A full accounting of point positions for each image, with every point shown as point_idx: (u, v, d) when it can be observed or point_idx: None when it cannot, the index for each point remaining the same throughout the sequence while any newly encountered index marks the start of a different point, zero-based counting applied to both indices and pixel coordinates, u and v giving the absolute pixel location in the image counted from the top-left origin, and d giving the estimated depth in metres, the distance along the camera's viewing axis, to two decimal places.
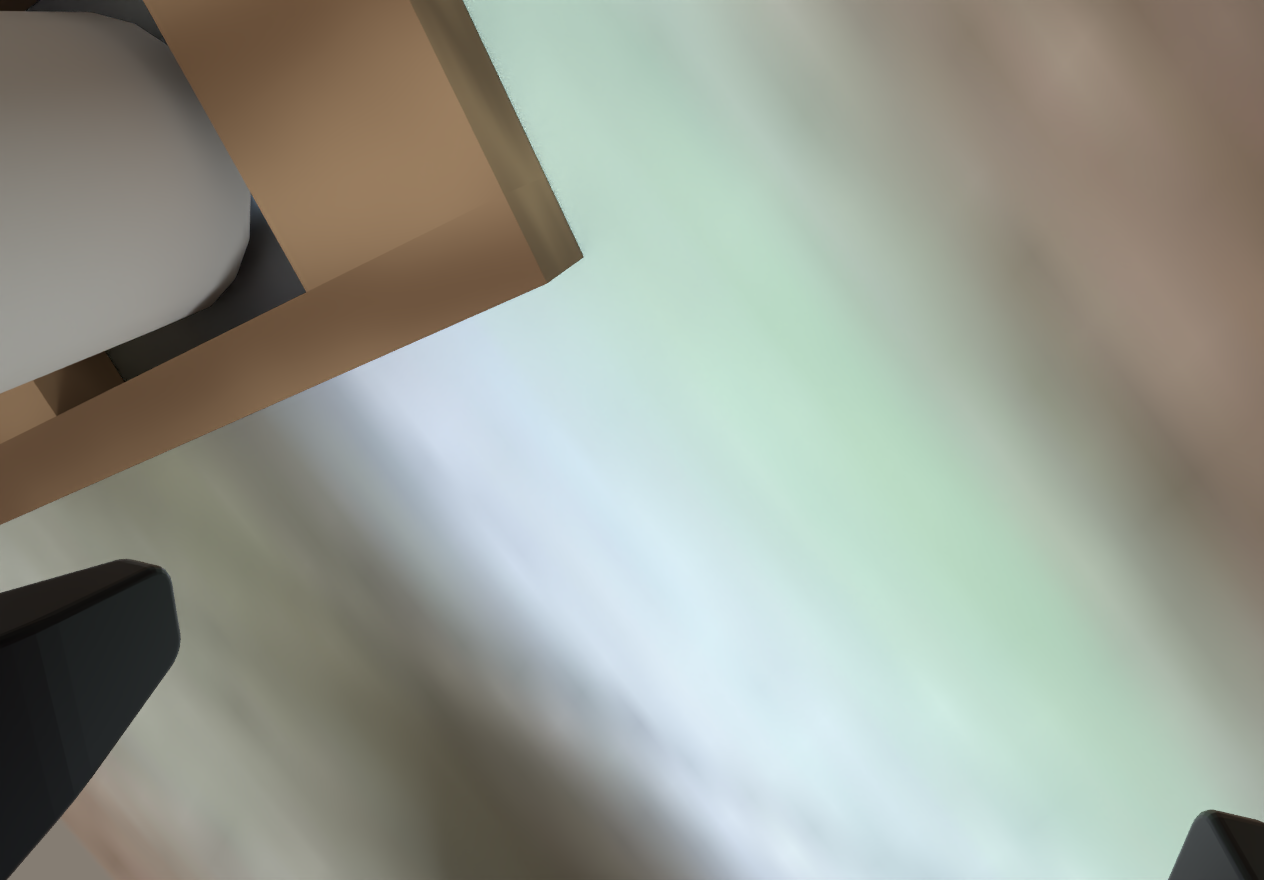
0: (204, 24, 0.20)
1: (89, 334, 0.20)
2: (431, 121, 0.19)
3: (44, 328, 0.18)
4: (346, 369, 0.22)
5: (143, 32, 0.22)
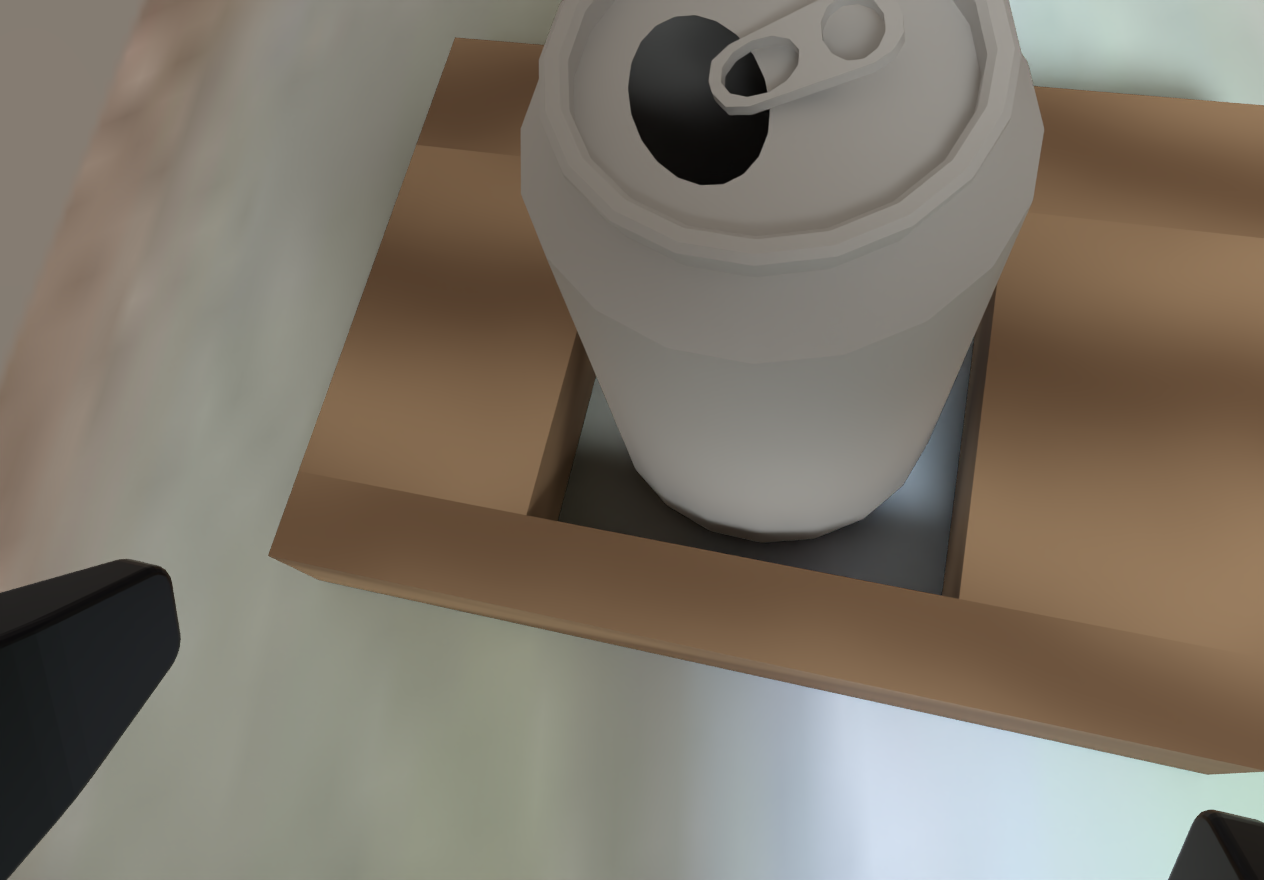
0: (1041, 348, 0.20)
1: (822, 469, 0.17)
2: (1228, 552, 0.18)
3: (865, 428, 0.15)
4: (942, 698, 0.18)
5: None
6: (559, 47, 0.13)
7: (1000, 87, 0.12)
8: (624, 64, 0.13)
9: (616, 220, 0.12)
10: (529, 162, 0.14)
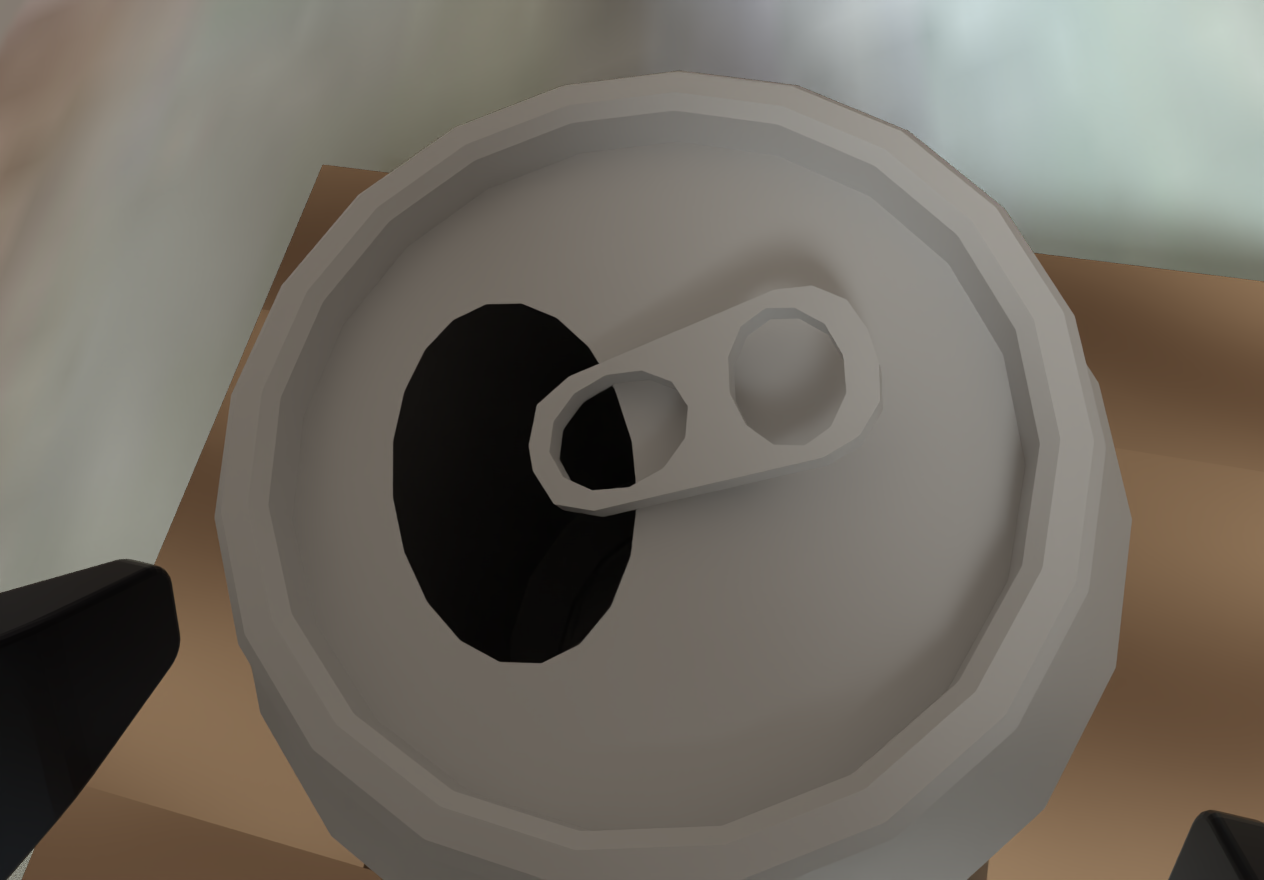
0: None
1: None
2: None
3: None
4: None
5: None
6: (265, 375, 0.07)
7: (1067, 528, 0.06)
8: (391, 394, 0.07)
9: (318, 767, 0.06)
10: None
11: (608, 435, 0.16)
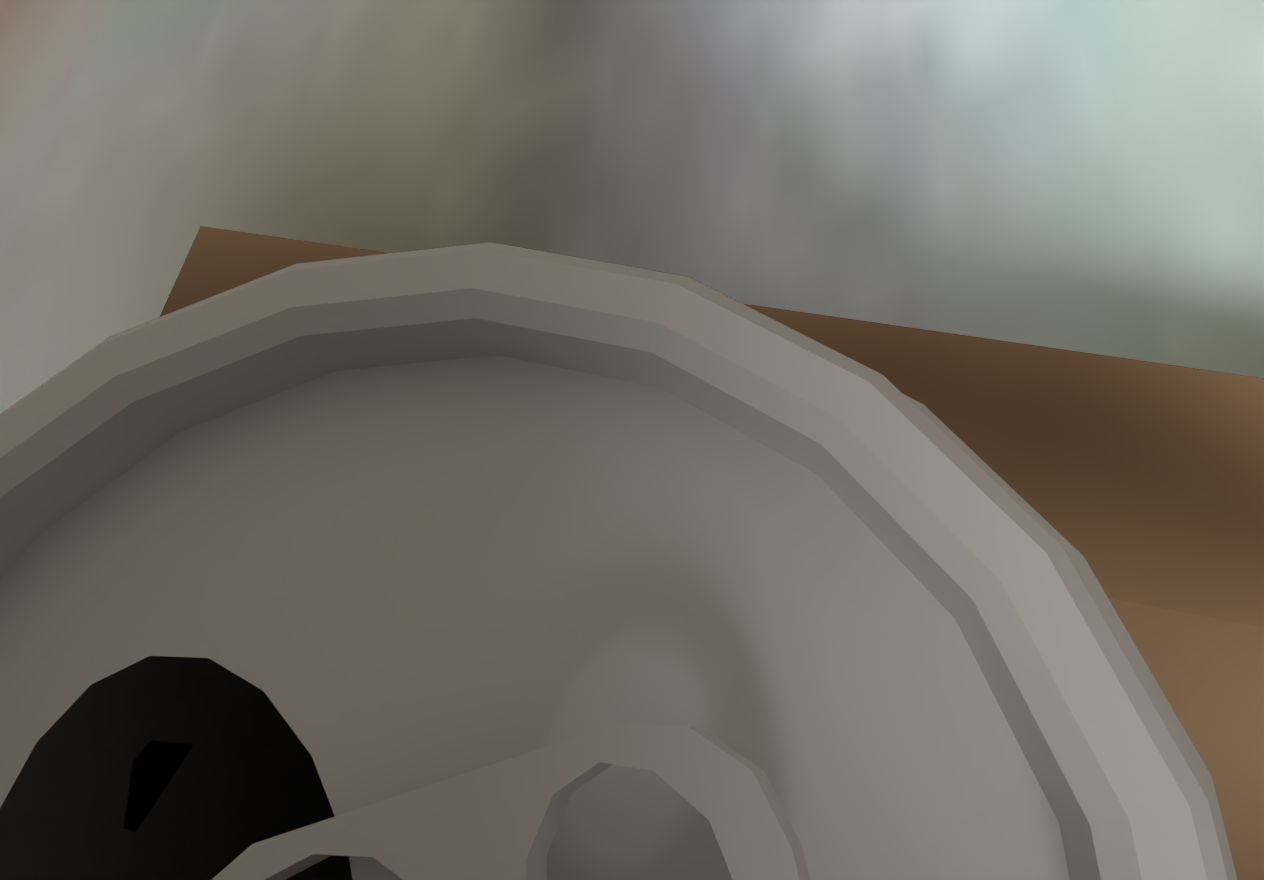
0: None
1: None
2: None
3: None
4: None
5: None
6: None
7: None
8: None
9: None
10: None
11: None
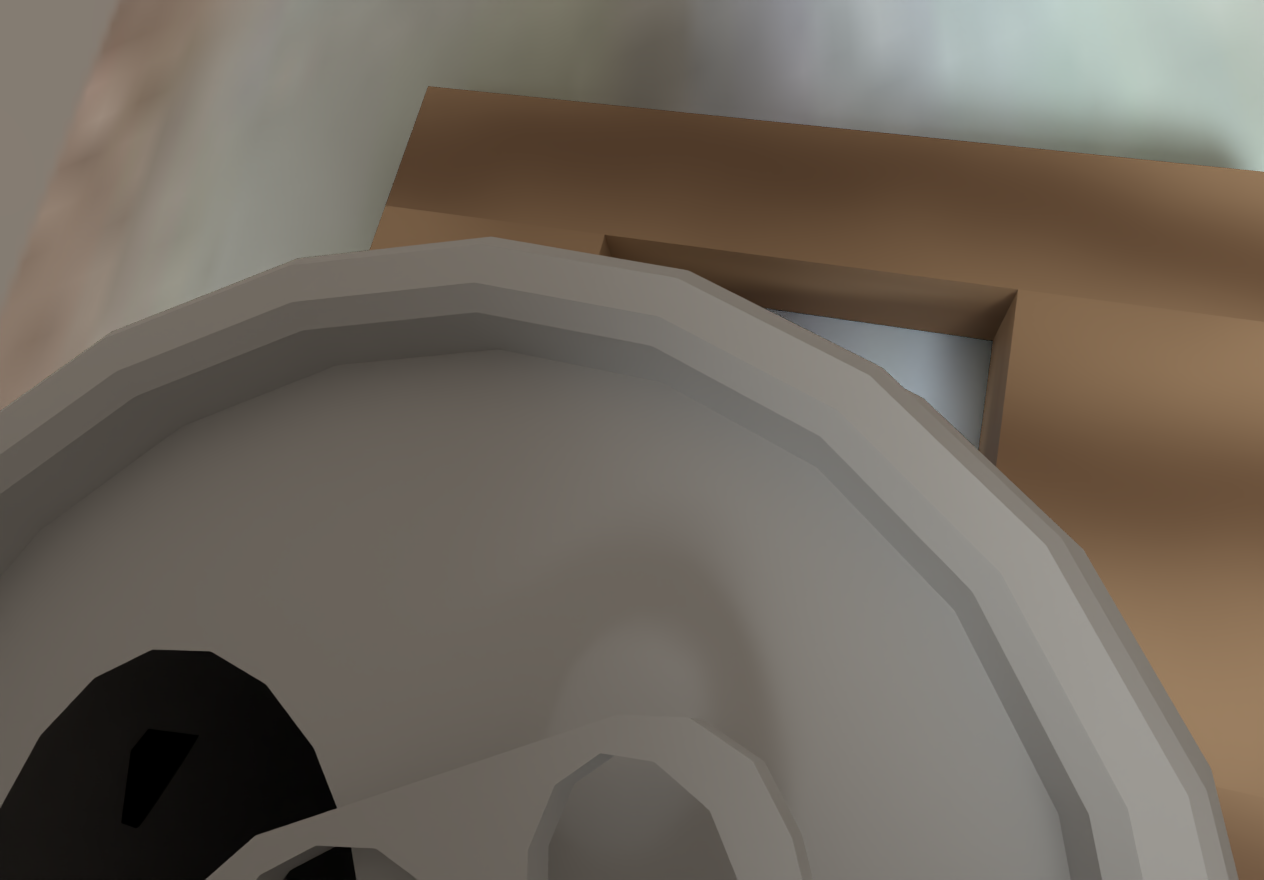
0: (1056, 446, 0.19)
1: None
2: (1257, 683, 0.17)
3: None
4: None
5: None
6: None
7: None
8: None
9: None
10: None
11: None
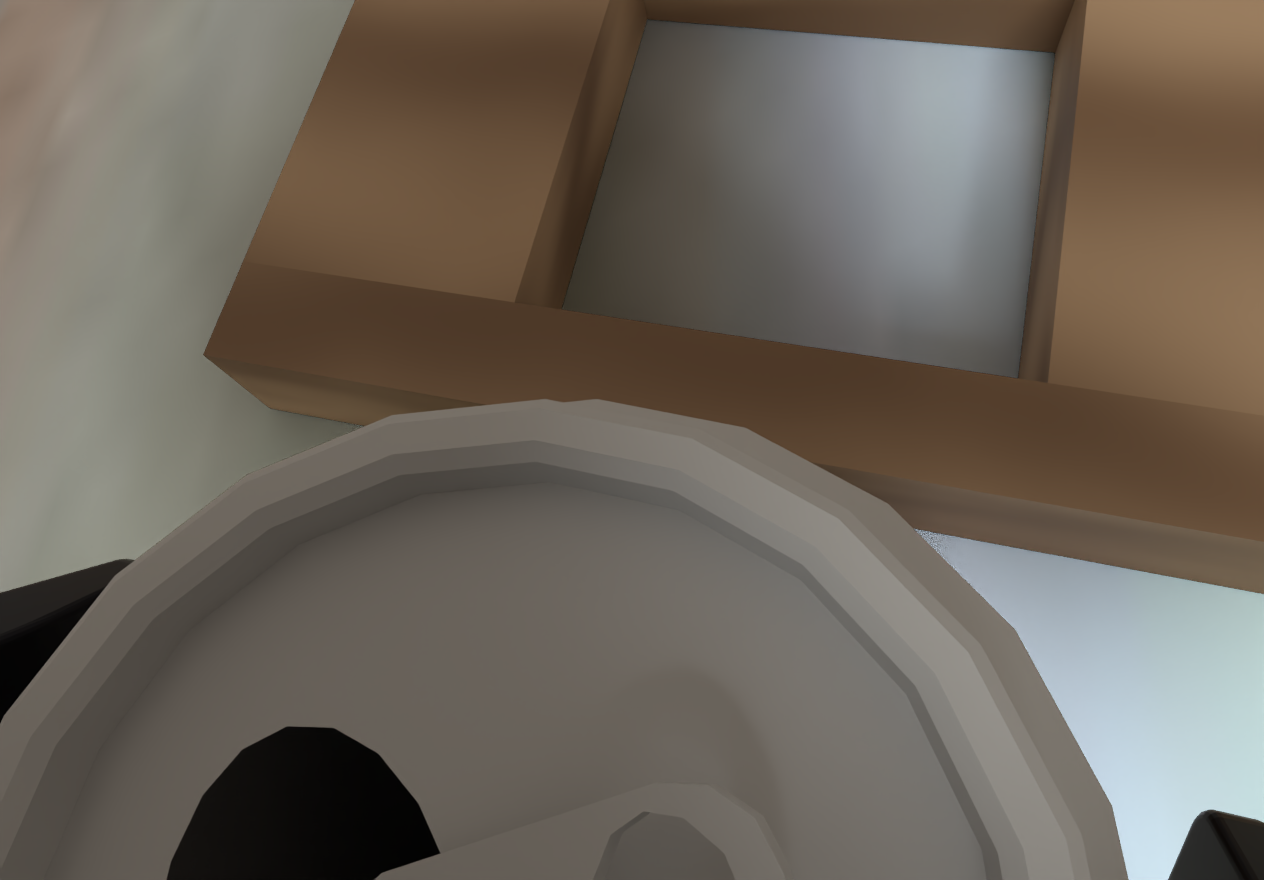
0: (1141, 101, 0.17)
1: None
2: None
3: None
4: (1030, 497, 0.14)
5: None
6: None
7: None
8: (155, 865, 0.06)
9: None
10: None
11: None
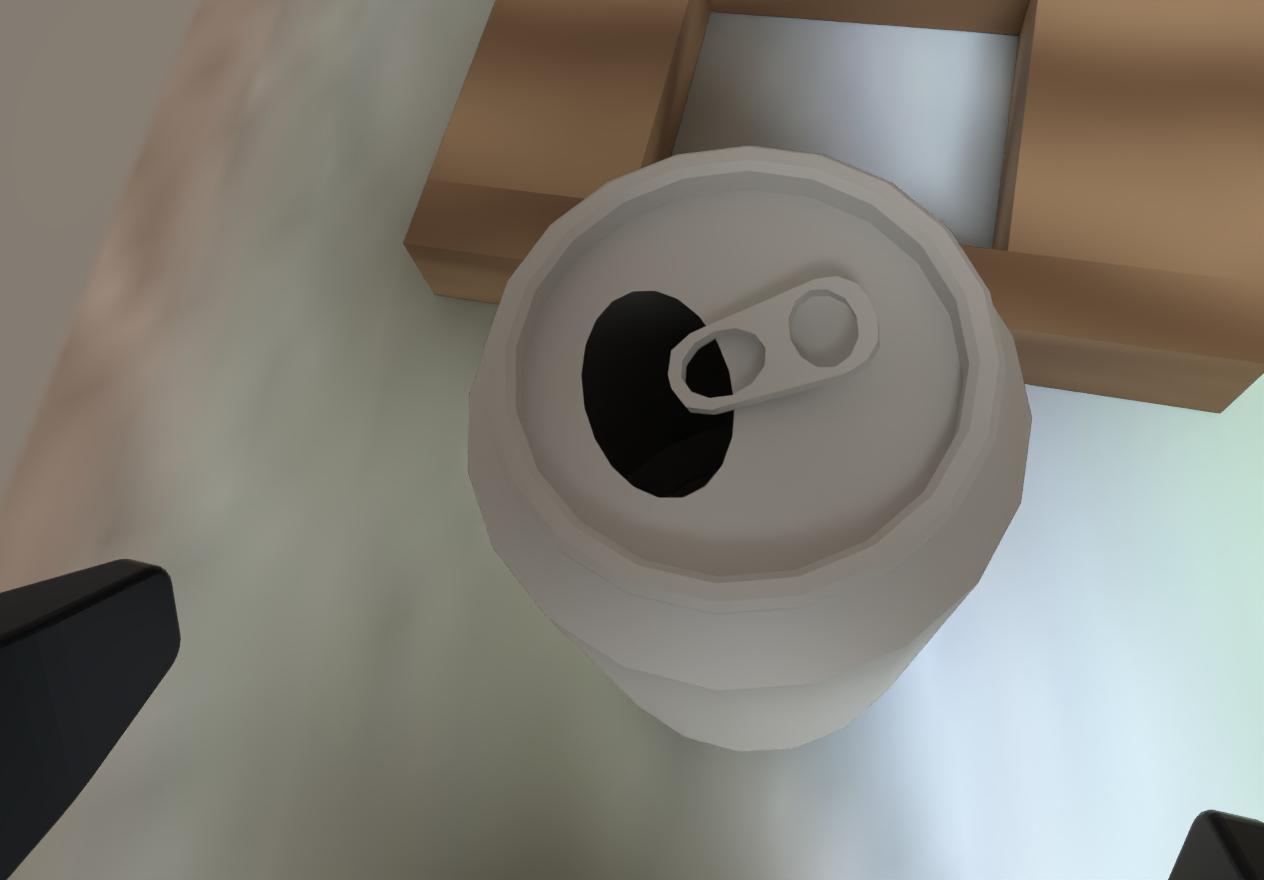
0: (1075, 63, 0.23)
1: (799, 724, 0.15)
2: (1237, 208, 0.21)
3: (843, 699, 0.14)
4: None
5: None
6: (506, 334, 0.12)
7: (983, 408, 0.11)
8: (577, 347, 0.12)
9: (564, 549, 0.11)
10: (477, 438, 0.13)
11: (666, 402, 0.21)
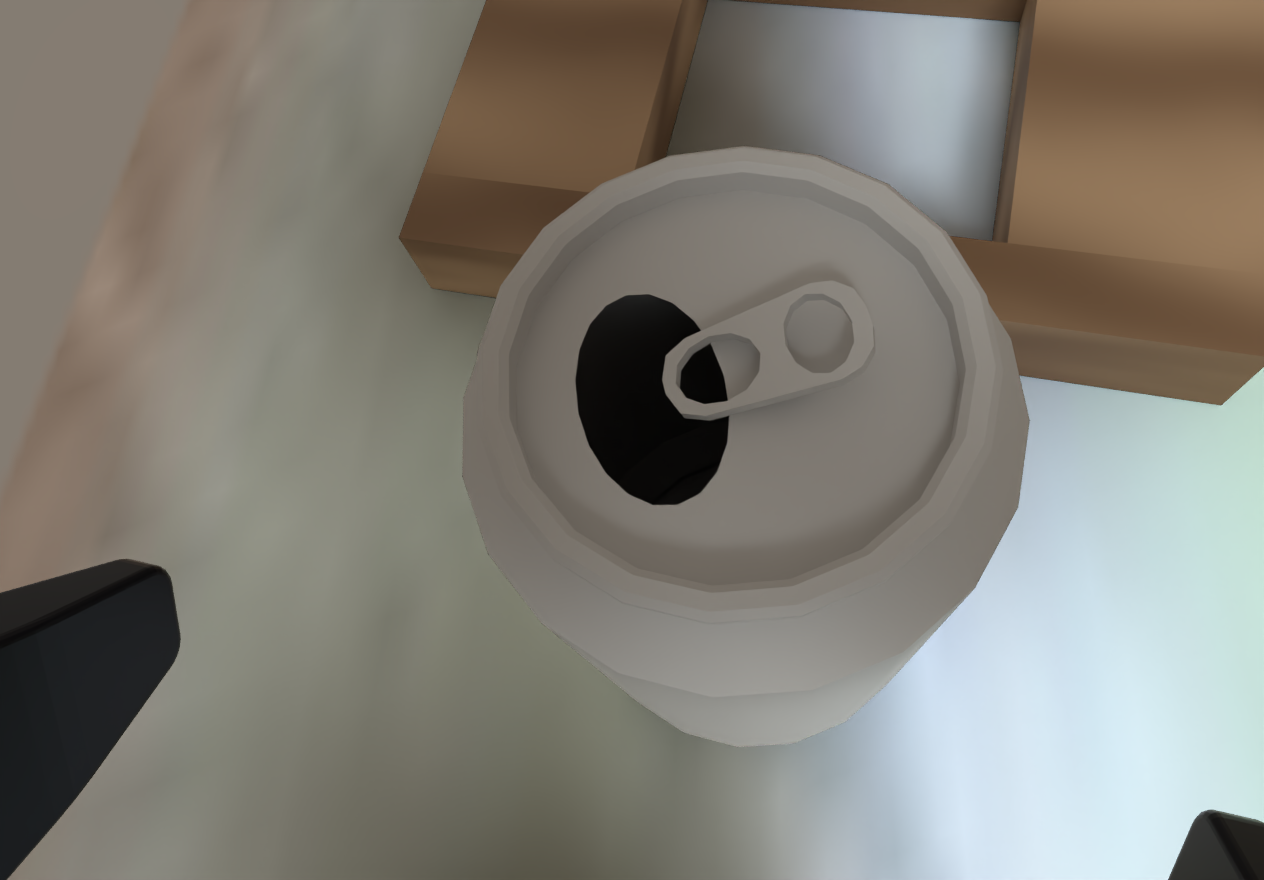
0: (1076, 51, 0.23)
1: (797, 724, 0.15)
2: (1239, 198, 0.21)
3: (841, 700, 0.14)
4: None
5: None
6: (499, 340, 0.12)
7: (980, 414, 0.11)
8: (570, 352, 0.12)
9: (558, 559, 0.11)
10: (471, 443, 0.13)
11: (663, 398, 0.21)
